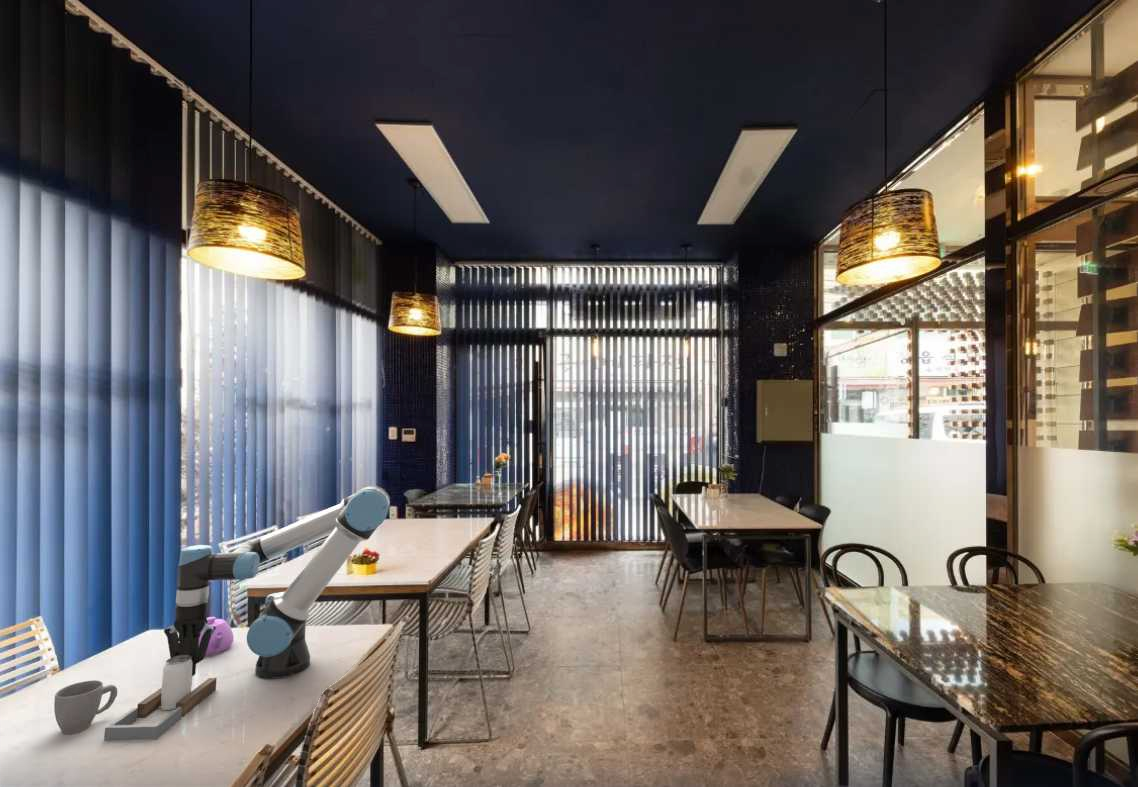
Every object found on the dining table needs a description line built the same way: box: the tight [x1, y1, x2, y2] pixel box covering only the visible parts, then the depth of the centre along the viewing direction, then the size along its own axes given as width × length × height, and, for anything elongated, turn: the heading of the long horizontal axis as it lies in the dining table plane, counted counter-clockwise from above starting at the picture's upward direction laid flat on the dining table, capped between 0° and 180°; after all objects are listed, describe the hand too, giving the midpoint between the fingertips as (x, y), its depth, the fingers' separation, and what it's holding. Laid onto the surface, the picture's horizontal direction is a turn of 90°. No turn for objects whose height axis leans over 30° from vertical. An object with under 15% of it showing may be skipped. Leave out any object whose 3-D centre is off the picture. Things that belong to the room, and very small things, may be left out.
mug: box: [53, 680, 118, 736], centre depth 132 cm, size 12×9×10 cm
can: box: [160, 655, 193, 712], centre depth 142 cm, size 6×6×12 cm
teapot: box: [198, 616, 234, 657], centre depth 177 cm, size 14×20×11 cm
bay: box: [103, 707, 183, 742], centre depth 130 cm, size 12×9×3 cm
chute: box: [136, 677, 217, 719], centre depth 142 cm, size 12×14×4 cm
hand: (185, 688), depth 146 cm, fingers closed
